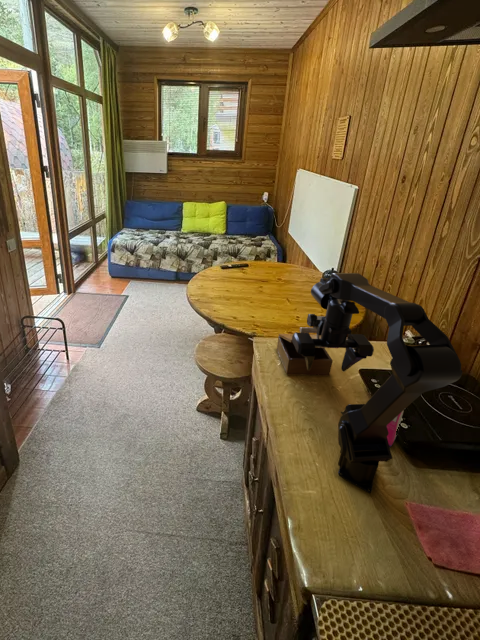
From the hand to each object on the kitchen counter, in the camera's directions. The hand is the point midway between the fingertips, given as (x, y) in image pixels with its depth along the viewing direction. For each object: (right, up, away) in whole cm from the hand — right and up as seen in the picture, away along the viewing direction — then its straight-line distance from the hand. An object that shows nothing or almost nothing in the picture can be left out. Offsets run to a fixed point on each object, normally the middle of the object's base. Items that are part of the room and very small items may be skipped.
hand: (325, 369), depth 82 cm
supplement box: (+12, -15, -4) cm, 20 cm away
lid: (+1, +3, +18) cm, 19 cm away
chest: (+1, -5, +21) cm, 22 cm away
